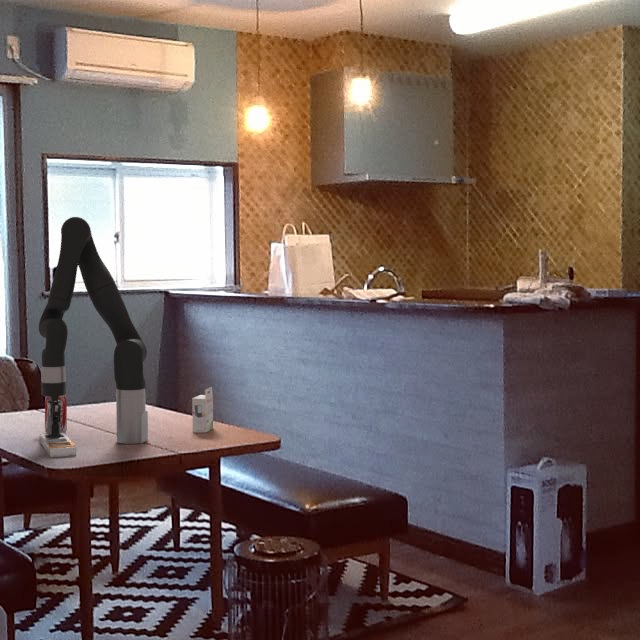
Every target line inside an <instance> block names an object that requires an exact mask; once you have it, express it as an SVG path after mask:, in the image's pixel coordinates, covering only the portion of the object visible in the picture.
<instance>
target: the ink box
mask: <svg viewBox="0 0 640 640" xmlns="http://www.w3.org/2000/svg"><path fill="white" fill-rule="evenodd" d="M213 394H214V393H213V386H210V387H208V388H206V389H204V394H199V395H197V396H195V397H192V398H191V403H192V404H191V405H192V406H191V407H192V410H191V411H192V433H201V434H202V433H203V434H204V433H207V432H210V431H211V430H213V429H214V403H213V402H214V395H213Z"/></svg>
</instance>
